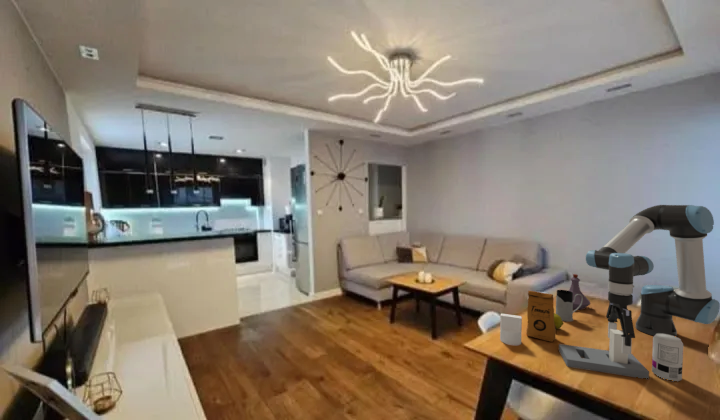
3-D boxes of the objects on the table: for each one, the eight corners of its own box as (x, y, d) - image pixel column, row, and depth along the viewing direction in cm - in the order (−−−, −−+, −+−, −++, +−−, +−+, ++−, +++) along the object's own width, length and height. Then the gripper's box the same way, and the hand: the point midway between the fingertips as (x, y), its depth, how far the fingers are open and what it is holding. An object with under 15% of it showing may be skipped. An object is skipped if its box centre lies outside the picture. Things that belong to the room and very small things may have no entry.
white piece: (520, 338, 151) (521, 314, 151) (521, 347, 143) (522, 320, 143) (500, 335, 155) (500, 311, 155) (499, 343, 147) (500, 317, 146)
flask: (566, 311, 187) (567, 277, 186) (554, 301, 203) (554, 271, 202) (597, 312, 184) (598, 278, 184) (582, 303, 201) (583, 272, 200)
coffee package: (553, 345, 145) (554, 297, 144) (524, 337, 153) (524, 292, 152) (557, 337, 153) (558, 292, 152) (529, 330, 161) (529, 287, 160)
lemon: (566, 329, 161) (566, 314, 161) (559, 333, 157) (560, 317, 156) (543, 322, 170) (543, 308, 170) (536, 326, 165) (537, 311, 165)
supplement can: (645, 370, 123) (647, 333, 123) (665, 369, 124) (666, 332, 123) (667, 383, 115) (669, 342, 115) (688, 381, 116) (690, 341, 115)
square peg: (608, 362, 129) (609, 329, 129) (622, 364, 128) (623, 330, 127) (613, 368, 125) (614, 333, 125) (627, 370, 124) (628, 335, 123)
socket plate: (631, 360, 131) (631, 353, 131) (648, 379, 118) (649, 371, 117) (558, 350, 140) (558, 343, 140) (567, 366, 127) (567, 359, 127)
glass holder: (551, 315, 181) (552, 289, 180) (577, 315, 180) (577, 289, 179) (560, 321, 172) (561, 294, 171) (587, 321, 171) (588, 294, 171)
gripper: (648, 304, 112) (646, 362, 113) (618, 284, 136) (617, 333, 137) (622, 301, 115) (620, 358, 116) (597, 283, 138) (596, 331, 139)
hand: (618, 345), depth 126 cm, fingers open, 13 cm apart
